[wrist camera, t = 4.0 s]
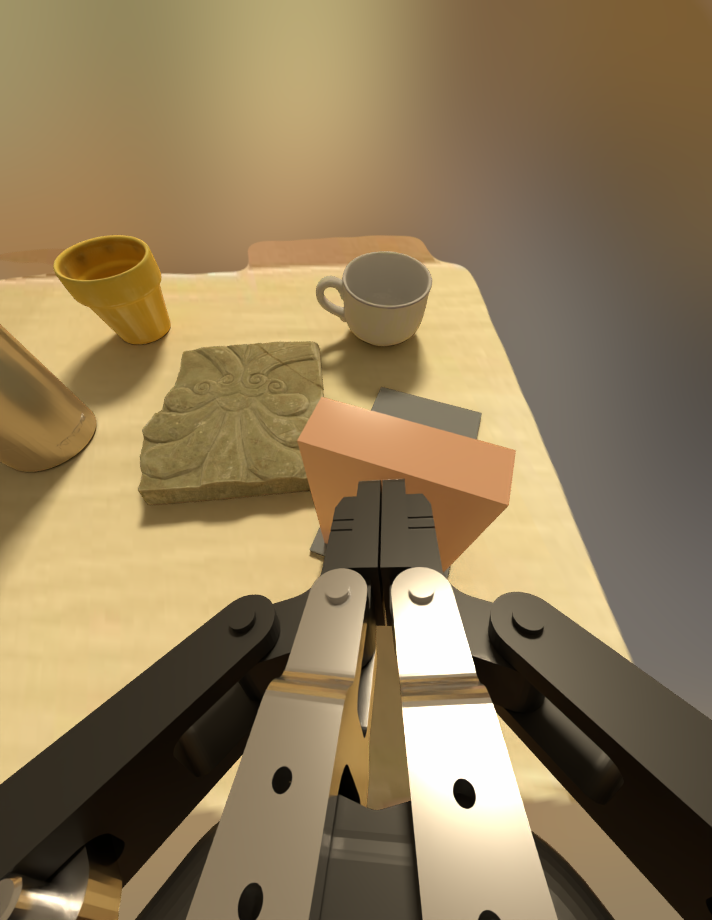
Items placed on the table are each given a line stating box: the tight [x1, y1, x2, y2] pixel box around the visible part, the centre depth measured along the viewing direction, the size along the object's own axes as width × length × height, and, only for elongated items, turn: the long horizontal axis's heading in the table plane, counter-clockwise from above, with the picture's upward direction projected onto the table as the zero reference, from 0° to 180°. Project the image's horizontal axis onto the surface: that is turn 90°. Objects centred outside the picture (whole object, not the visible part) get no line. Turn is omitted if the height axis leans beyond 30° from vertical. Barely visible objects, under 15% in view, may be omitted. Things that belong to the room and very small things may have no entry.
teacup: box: [316, 251, 432, 346], centre depth 42 cm, size 14×11×8 cm
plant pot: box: [53, 235, 170, 344], centre depth 42 cm, size 10×10×10 cm
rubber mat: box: [310, 387, 482, 579], centre depth 33 cm, size 12×21×1 cm, turn 160°
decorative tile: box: [138, 341, 324, 505], centre depth 36 cm, size 19×20×4 cm
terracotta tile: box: [297, 397, 516, 573], centre depth 23 cm, size 10×3×16 cm, turn 70°
